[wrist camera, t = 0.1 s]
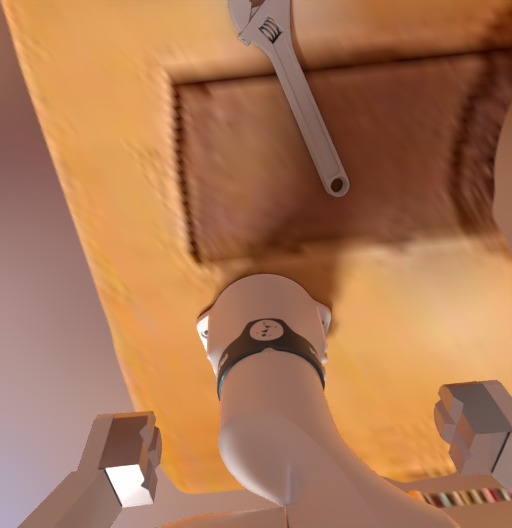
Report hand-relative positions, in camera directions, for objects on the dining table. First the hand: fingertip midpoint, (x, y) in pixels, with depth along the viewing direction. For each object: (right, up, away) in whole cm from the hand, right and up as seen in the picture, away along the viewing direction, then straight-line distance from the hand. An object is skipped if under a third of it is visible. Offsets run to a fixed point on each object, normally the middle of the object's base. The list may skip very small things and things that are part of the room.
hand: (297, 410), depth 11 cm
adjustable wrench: (+2, +23, +33) cm, 40 cm away
